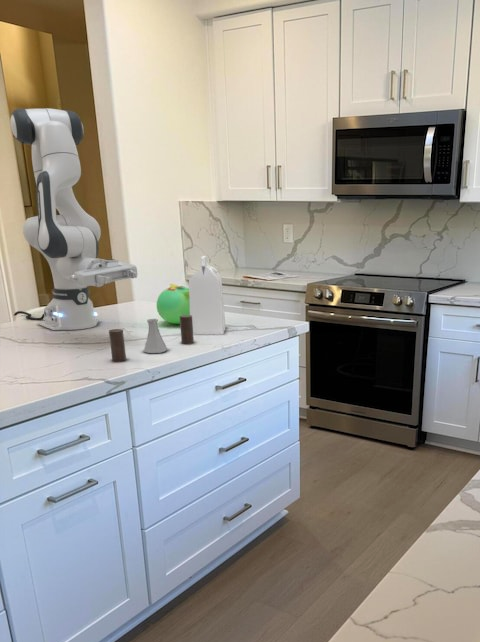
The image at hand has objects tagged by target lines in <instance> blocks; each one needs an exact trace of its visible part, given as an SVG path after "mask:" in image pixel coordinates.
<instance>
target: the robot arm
mask: <svg viewBox="0 0 480 642" xmlns="http://www.w3.org/2000/svg"><path fill="white" fill-rule="evenodd" d="M9 120H10V121H9V125H10V129H11V132H12V134H13V136H14V138H15V140H17V141H18V142H19V143H20V144H22V145H23V144H24V145H28V146H31V163H32V171H33V176H34V181H35V185H36V204H37V206H36V207H37V215H35V216H32V217H28V218H26V220H25V221H24V223H23V226H22V234H23V236H24V239H25V241H26V242H27V243H28V244H29V245H30V246H31V247H33V248H34V249H35V250H37V251H38V252H39V253H40V254H42V256H43V257H44V258H45V259H46V261H47V263H48V266H49V268H50V271H51V275H52V281H53V288H52V289H50V293H52V299H51V301H50V302H49V303H48V304H47V305H45V307H44V308H43V313H42V315H41V316H40V317H32V314H31V313H29V312H27V311H23V310H19V311H16V312H14V314H13V316H15V317H16V316H17V315H19V314H21V315H25V318H26V319H27V320H31V321H38V322H37V323H38V325H39V326H42V327H44V328H47V329H49V330H52V331H74V330H84V329H91V328H94V327H96V326H97V325H98V324H99V322H100V321H99V319H97V317H96V316H98V313H97V312H95V308H94V304H93V301H92V300H91V299H90V295H91V294H90V288H89V287H91V286H92V287H95V288H101V287H103V286H105V285H107V284H111V283H113V282H117V281H122V280H127V279H136V278H138V267H137V266H136V265H135V264H132V263H129V262H124V261H119V259H115V258H110V259H109V258H105V259H104V258H103V259H102V258H98V255H99V241H100V238H101V235H102V231H101V225H100V224H99V222H98V220H96V219H95V217H93V216H92V215H90V214H89V213H87V212H86V211H85V210H84V209H83V208H82V206H81V205H80V203H79V202H78V200H77V198H76V197H75V194H74V191H73V186H75V185H76V184H77V183H78V182H79V180H80V179H81V176H82V167H81V161H80V157H79V153H78V149H77V146H78V145H80V143H82V141H83V137H84V125H83V123H82V120H81V117H80V116H79V114H78V113H77V112H75V111H72V110H70V109H69V110H68V109H65V110H63V109H57V108H51V107H50V108H49V107H48V108H47V107H45V108H25V107H21V108H16V109H14V110H13V111H12V112H11V114H10V119H9ZM57 211H58V213H59V214H57Z"/></svg>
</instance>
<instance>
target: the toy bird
mask: <svg viewBox="0 0 480 642" xmlns="http://www.w3.org/2000/svg"><path fill="white" fill-rule="evenodd" d="M169 286H170V287H167V288H165V289H164V290H163V291H162V292H160V294H159V295H158V297H157V300H156V311H157V314H158V315H159V317H160V318H161V319H162V320H164V321H166V322H167V323H170V324H172V325H173V324H174V325H180V316H181V315H190V303H189V287H186V286H183V285H180V286H179V285H177V284H174V283H169Z"/></svg>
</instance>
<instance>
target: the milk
mask: <svg viewBox="0 0 480 642" xmlns="http://www.w3.org/2000/svg"><path fill="white" fill-rule="evenodd" d="M200 264H201V265H200V267H199V268H198V269H197V270H196V272H195V273H194V274H193V275H192V276H191V277H190V278H189V279H188V288H189V303H190V315H191V316H192V322H193V335H224V333H225V330H226V317H225V316H226V315H225V303H224V293H223V280H222V279H223V278H222V276H221V275H220V273H218V272H219V271H218V270H217V269H216V268H215V266H212V265H210V264H209V263H208V256H207V255H202V256H200Z"/></svg>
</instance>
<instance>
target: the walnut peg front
mask: <svg viewBox="0 0 480 642" xmlns="http://www.w3.org/2000/svg"><path fill="white" fill-rule="evenodd" d="M108 337H109V346H110V353H111V361H112V362H114V363H115V362H116V363H121V362H126V361H127V354H126V344H125V335H124V330H123V329H121V328H114V329H113V328H112V329H109V330H108Z"/></svg>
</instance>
